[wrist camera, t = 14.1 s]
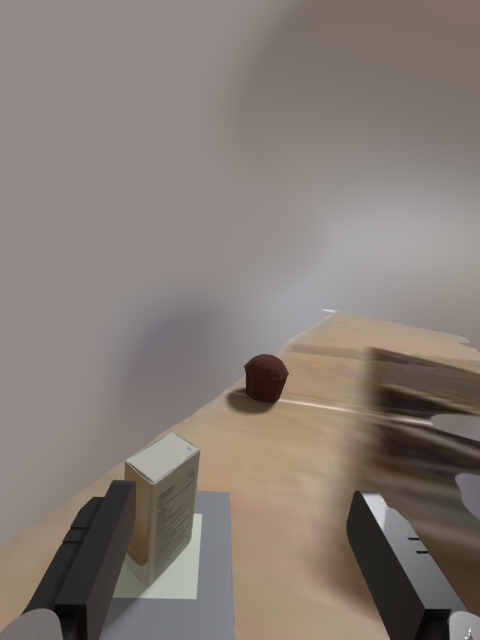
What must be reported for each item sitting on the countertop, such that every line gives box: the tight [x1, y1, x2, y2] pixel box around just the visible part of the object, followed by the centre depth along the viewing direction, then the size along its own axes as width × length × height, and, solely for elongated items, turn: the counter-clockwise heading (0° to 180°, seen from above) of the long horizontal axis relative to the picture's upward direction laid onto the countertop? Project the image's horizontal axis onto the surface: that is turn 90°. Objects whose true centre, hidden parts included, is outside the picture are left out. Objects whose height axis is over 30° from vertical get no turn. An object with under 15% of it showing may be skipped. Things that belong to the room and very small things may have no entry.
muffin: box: [244, 354, 289, 402], centre depth 73 cm, size 12×11×10 cm
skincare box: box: [124, 432, 200, 586], centre depth 29 cm, size 6×4×12 cm
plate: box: [99, 486, 235, 640], centre depth 31 cm, size 16×16×2 cm
